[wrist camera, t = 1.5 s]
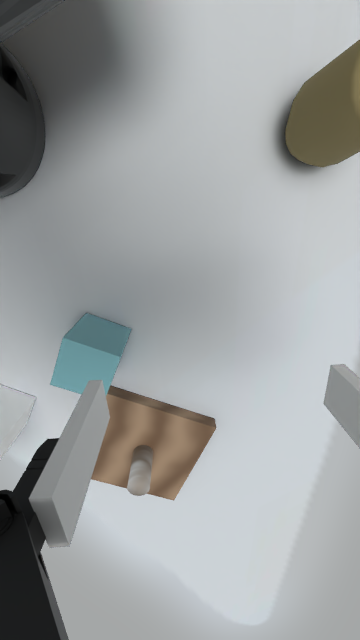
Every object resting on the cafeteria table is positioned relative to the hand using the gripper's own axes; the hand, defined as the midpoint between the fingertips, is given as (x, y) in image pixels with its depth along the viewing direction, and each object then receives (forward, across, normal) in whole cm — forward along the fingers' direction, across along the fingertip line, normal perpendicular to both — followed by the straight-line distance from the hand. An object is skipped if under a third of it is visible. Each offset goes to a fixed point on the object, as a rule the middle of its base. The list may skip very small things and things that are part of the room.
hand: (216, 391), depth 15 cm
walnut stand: (+21, -9, -26) cm, 35 cm away
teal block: (+21, -13, -6) cm, 26 cm away
